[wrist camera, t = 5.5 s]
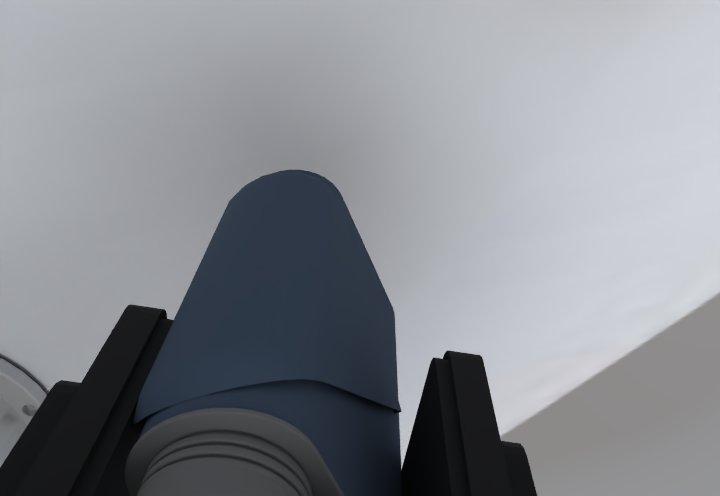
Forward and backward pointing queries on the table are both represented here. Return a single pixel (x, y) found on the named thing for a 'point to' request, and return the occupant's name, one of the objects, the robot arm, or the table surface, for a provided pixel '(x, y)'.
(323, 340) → the vaping device
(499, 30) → the table surface
